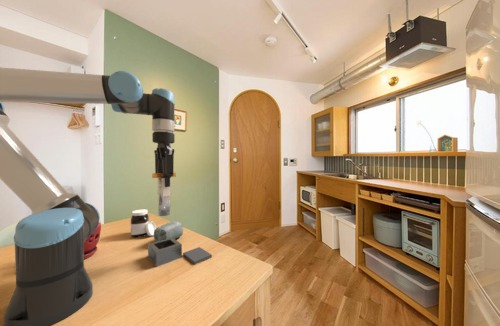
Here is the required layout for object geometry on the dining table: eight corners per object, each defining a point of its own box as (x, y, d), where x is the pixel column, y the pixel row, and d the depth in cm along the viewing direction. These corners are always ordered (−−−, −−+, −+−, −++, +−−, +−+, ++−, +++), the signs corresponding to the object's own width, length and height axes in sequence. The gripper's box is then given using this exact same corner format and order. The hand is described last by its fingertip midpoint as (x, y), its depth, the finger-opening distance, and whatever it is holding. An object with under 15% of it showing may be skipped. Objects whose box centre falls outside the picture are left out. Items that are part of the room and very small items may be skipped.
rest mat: (194, 264, 66) (194, 261, 66) (183, 255, 73) (183, 252, 72) (211, 257, 71) (211, 254, 71) (199, 249, 77) (199, 247, 77)
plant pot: (73, 267, 64) (73, 232, 64) (44, 263, 67) (44, 230, 67) (109, 250, 77) (109, 220, 77) (83, 247, 80) (83, 219, 80)
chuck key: (177, 213, 72) (177, 172, 72) (154, 217, 67) (154, 173, 67) (172, 211, 75) (172, 172, 75) (151, 215, 70) (151, 173, 69)
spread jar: (132, 232, 96) (132, 209, 96) (157, 228, 101) (156, 207, 101) (128, 241, 85) (128, 215, 85) (156, 237, 90) (156, 212, 90)
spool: (163, 242, 76) (161, 218, 81) (149, 249, 80) (147, 225, 84) (189, 239, 88) (186, 218, 92) (176, 245, 91) (173, 224, 95)
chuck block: (156, 266, 65) (156, 252, 65) (148, 257, 71) (148, 244, 71) (181, 257, 71) (181, 244, 71) (172, 249, 78) (171, 237, 77)
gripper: (183, 130, 67) (183, 196, 67) (165, 135, 79) (165, 191, 80) (161, 128, 62) (162, 199, 62) (145, 133, 74) (146, 193, 74)
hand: (164, 194), depth 71 cm, fingers closed on chuck key, 4 cm apart
